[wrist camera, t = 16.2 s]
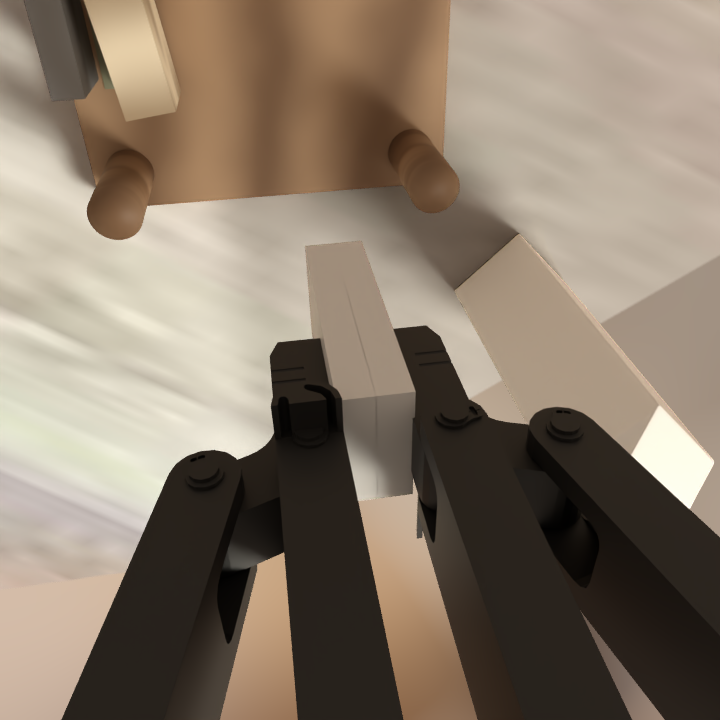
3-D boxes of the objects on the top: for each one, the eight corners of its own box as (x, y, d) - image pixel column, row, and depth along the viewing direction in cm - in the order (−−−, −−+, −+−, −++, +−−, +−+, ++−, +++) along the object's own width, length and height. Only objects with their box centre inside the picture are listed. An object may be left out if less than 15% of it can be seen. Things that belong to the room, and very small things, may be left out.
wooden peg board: (107, 196, 40) (83, 256, 34) (-6, -252, 29) (-75, -291, 22) (433, 170, 43) (469, 222, 36) (451, -255, 31) (508, -292, 24)
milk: (518, 231, 46) (700, 447, 28) (566, 283, 49) (758, 507, 31) (451, 291, 48) (583, 529, 30) (502, 337, 51) (648, 578, 33)
